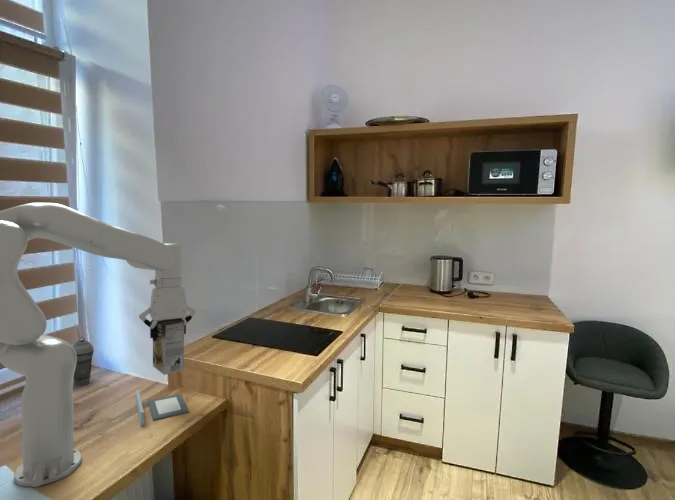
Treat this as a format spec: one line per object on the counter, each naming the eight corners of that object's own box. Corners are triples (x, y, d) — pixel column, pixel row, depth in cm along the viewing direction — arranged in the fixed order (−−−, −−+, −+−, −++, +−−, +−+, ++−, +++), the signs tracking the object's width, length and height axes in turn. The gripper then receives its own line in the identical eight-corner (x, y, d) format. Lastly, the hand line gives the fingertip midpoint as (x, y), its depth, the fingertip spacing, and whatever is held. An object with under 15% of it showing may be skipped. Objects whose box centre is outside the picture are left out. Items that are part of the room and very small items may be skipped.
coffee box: (151, 366, 119) (151, 317, 117) (172, 361, 123) (172, 313, 122) (163, 375, 112) (163, 323, 111) (184, 369, 117) (185, 319, 116)
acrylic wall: (143, 425, 108) (143, 412, 108) (140, 426, 108) (140, 412, 107) (138, 401, 121) (138, 389, 121) (135, 402, 121) (135, 390, 121)
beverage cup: (85, 388, 129) (84, 332, 128) (64, 387, 129) (63, 331, 128) (98, 379, 136) (98, 326, 135) (79, 378, 137) (78, 325, 135)
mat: (188, 412, 116) (188, 410, 116) (153, 420, 111) (153, 418, 111) (180, 395, 127) (180, 393, 127) (148, 401, 122) (148, 400, 122)
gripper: (138, 286, 108) (138, 345, 109) (200, 283, 117) (199, 337, 119) (135, 282, 114) (136, 338, 116) (195, 279, 124) (194, 331, 125)
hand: (168, 337), depth 117 cm, fingers closed on coffee box, 7 cm apart
